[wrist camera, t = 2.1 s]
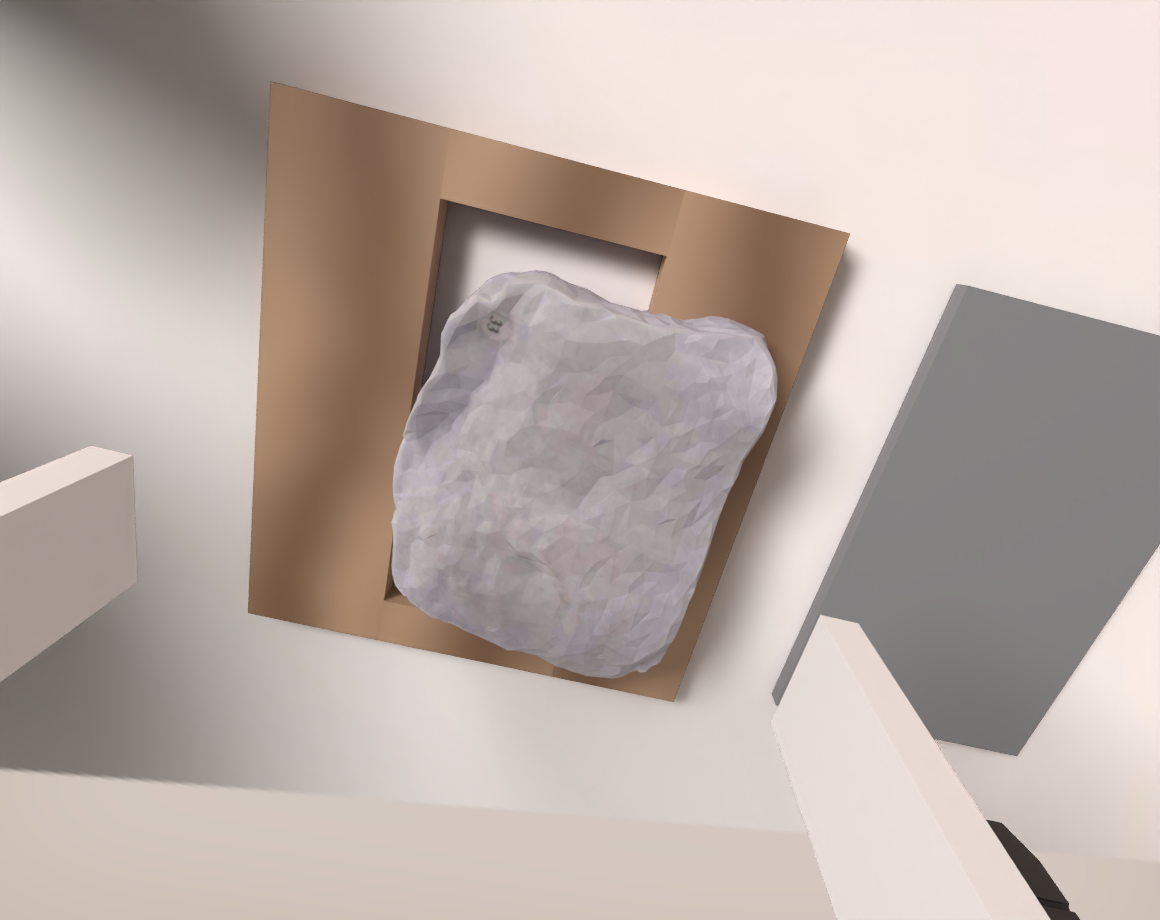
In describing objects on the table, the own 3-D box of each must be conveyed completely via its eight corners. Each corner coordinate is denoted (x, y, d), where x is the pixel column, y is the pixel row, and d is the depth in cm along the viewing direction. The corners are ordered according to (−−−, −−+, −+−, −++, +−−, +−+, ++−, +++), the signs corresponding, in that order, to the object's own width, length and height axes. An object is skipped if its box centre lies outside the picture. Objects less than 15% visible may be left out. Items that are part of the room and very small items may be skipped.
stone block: (420, 548, 23) (660, 641, 22) (350, 609, 19) (647, 730, 18) (490, 240, 20) (784, 333, 18) (423, 225, 15) (808, 347, 14)
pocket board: (262, 597, 22) (247, 613, 21) (288, 90, 16) (270, 80, 15) (670, 683, 23) (673, 701, 22) (836, 233, 17) (850, 233, 16)
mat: (771, 694, 23) (776, 705, 23) (956, 284, 18) (968, 285, 17) (1006, 743, 24) (1016, 756, 23) (1257, 362, 18) (1279, 366, 18)
